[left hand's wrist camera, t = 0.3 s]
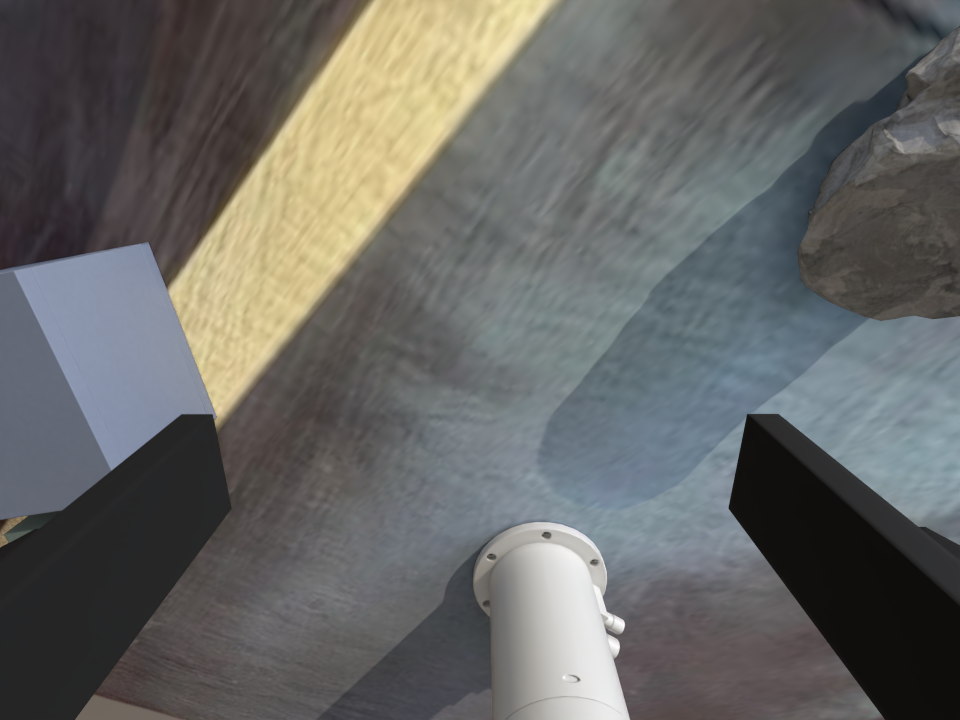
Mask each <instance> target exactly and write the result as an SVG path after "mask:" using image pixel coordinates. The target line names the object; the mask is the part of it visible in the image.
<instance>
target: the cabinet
mask: <svg viewBox="0 0 960 720" xmlns="http://www.w3.org/2000/svg"><path fill="white" fill-rule="evenodd" d="M181 414H213V418H214V419H215V418H216V417H217V416H216V414H215V411H214V409H213V406H212V404H211V401H210V399H209V396H208V393H207V391H206V388H205V386H204V383H203V381H202V378H201V376H200V373H199V371H198V368H197V365H196V363H195V360H194V358H193V355H192V353H191V350H190V348H189V345H188V342H187V340H186V337H185V335H184V332H183V330H182V327H181V325H180V322H179V320H178V317H177V314H176V312H175V309H174V307H173V304H172V302H171V299H170V297H169V294H168V291H167V289H166V286H165V284H164V281H163V279H162V276H161V274H160V271H159V269H158V266H157V263H156V261H155V258H154V256H153V253H152V251H151V248H150V246H149V243H148V242H147V243H141V244H136V245H130V246H125V247H120V248H114V249H109V250H104V251H98V252H93V253H87V254H82V255H77V256H71V257H66V258H60V259H55V260H50V261H44V262H39V263H34V264H28V265H23V266H17V267H12V268H7V269H3V270H0V520H3V519H9V518H16V517H22V516H29V515H35V514H42V513H48V512H55V511H61V510H63V509H65V508H66V507H67V506H68V505H70V504H71V503H72V502H73V501H74V500H76V499H77V498H78V497H79V496H81V495H82V494H83V493H84V492H86V491H87V490H88V489H89V488H91V487H92V486H93V485H94V484H96V483H97V482H98V481H99V480H101V479H102V478H103V477H104V476H105V475H107V474H108V473H109V472H110V471H112V470H113V469H114V468H115V467H117V466H118V465H119V464H120V463H122V462H123V461H124V460H125V459H127V458H128V457H129V456H130V455H131V454H133V453H134V452H135V451H136V450H138V449H139V448H140V447H141V446H143V445H144V444H145V443H146V442H148V441H149V440H150V439H151V438H153V437H154V436H155V435H156V434H158V433H159V432H160V431H161V430H162V429H164V428H165V427H166V426H167V425H169V424H170V423H171V422H172V421H174V420H175V419H176V418H177V417H179V416H180V415H181Z"/></svg>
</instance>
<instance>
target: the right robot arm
mask: <svg viewBox="0 0 960 720" xmlns="http://www.w3.org/2000/svg"><path fill="white" fill-rule="evenodd" d="M606 584H607V572H606V568H605V565H604V561H603V558H602V556H601V554H600V552H599V550H598V549H597V547H596V546H595V545H594V543H593V542H592V541H591V540H590V539H588V538H587V537H586V536H585V535H584V534H582V533H580V532H579V531H577V530H575V529H573V528H570V527H567V526H565V525H561V524H556V523H550V522H534V523H527V524H522V525H519V526H515V527H512V528H510V529H508V530H506V531H504V532H502V533H500V534H498V535H497V536H496V537H494V538H493V539H492V540H490V541H489V542H488V544H487V545H486V546H485V547H484V548H483V549H482V551H481V552H480V554H479V556H478V557H477V560H476V563H475V566H474V571H473V590H474V594H475V597H476V600H477V602H478V604H479V606H480V607H481V609H482V610H483V611H484V612H485V613H486V614H487V615H488V616H489V617H490V634H491V678H492V720H630V718H629V715H628V711H627V707H626V704H625V700H624V696H623V693H622V689H621V685H620V682H619V678H618V675H617V671H616V667H615V664H614V660H613V659H614V658H616V656H617V655H618V653H619V648H620V646H619V641H618V640H617V639H616V638H614V637H612V636H610V635H608V634H606V631H605V627H606V629H608V630H610V631H612V632H614V633H616V634H621V633H622V632H623V630H624V627H625V623H624V621H623V620H622V619H620V618H619V617H617V616H615V615H613V614H610V613H608V612H606V608H605V605H604V601H603V598H602V597H603V595H604V593H605V589H606Z"/></svg>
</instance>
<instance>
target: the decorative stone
mask: <svg viewBox="0 0 960 720" xmlns="http://www.w3.org/2000/svg"><path fill="white" fill-rule="evenodd" d="M905 79H906V82H907V85H908V87H907V89H906V91H905V92H904V94H903V95H902V97H901V99H900V102H899V104H898V106H897V108H896V110H895V111H894V113H893V114H892V115H891V116H889V117H886V118H884V119H882V120H879V121H877V122H874V123H873V124H871V125H870V126H869V128H868V129H867V130H866V131H865V133H864V134H863V135H862V136H860V137H859V138H858V139H856V140H855V141H854V142H852V143H851V144H850V145H849V146H847V147H846V148H845V149H844V150H843V151H842V152H841V153H840V154H839V155H838V156H837V157H836V158H835V159H834V160H833V161H832V163H831V166H830V168H829V171H828V173H827V175H826V177H825V178H824V180H823V181H822V182H821V185H820V189H819V194H818V198H817V200H816V202H815V204H814V206H813V209H811V210H810V211H809V212H808V229H807V232H806V234H805V236H804V238H803V240H802V242H801V243H800V245H799V248H798V262H799V269H800V275H801V281H802V282H803V283H804V284H805V286H806V287H808V288H809V289H811V290H812V291H813V292H815V293H816V294H817V295H819V296H821V297H822V298H824V299H825V300H827V301H829V302H830V303H833V304H835V305H837V306H840V307H842V308H844V309H847V310H849V311H852V312H854V313H857V314H859V315H862V316H864V317H868V318H872V319H876V320H880V321H882V320H890V319H897V318H901V317H907V316H919V317H925V318H930V319H938V318H947V317H956V316H960V26H959V27H958V28H957V29H955V30H954V31H953V32H951V33H950V34H949V35H947V36H946V37H945V38H943V39H942V40H941V41H940V42H939V43H938V45H937V46H936V47H935V49H934V50H933V51H932V52H930V53H929V54H928V55H927V56H925V57H924V58H923V59H922V60H921V61H920V62H919V63H918V64H917V65H916V66H915V67H914V68H912V69H911V70H909V71H908V73H907V75H906V76H905Z"/></svg>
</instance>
